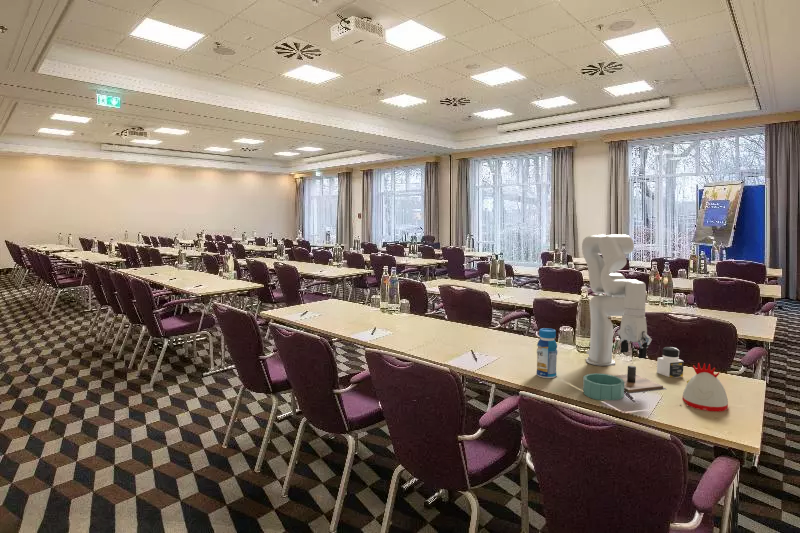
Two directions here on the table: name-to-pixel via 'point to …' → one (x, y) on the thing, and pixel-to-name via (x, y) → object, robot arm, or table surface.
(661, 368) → the medicine bottle
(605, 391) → the bowl
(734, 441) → the table surface
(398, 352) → the table surface
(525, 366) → the table surface
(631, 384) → the lid
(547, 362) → the beverage bottle
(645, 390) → the mat
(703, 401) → the kitchen timer
